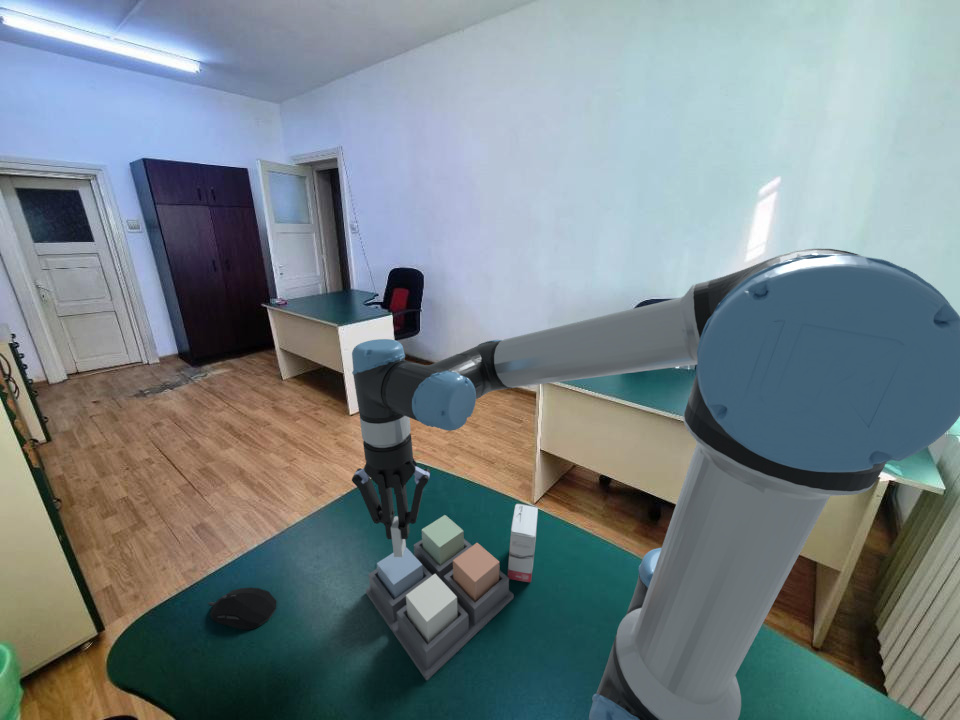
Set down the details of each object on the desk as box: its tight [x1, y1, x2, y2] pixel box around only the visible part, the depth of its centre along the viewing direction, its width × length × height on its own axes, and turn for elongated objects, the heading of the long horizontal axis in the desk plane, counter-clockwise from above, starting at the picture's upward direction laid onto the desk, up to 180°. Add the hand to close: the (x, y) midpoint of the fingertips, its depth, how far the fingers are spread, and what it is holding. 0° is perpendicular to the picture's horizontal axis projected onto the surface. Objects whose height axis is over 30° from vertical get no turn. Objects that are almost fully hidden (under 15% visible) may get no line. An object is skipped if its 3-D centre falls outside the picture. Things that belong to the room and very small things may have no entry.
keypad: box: [365, 538, 515, 682], centre depth 70 cm, size 20×20×5 cm
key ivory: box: [406, 574, 458, 644], centre depth 62 cm, size 6×6×5 cm
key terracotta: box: [453, 542, 500, 602], centre depth 68 cm, size 6×6×5 cm
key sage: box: [421, 514, 465, 566], centre depth 75 cm, size 6×6×5 cm
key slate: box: [376, 545, 423, 600], centre depth 69 cm, size 6×6×5 cm
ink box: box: [507, 503, 539, 583], centre depth 76 cm, size 9×5×12 cm, turn 169°
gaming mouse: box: [207, 587, 278, 631], centre depth 68 cm, size 6×15×4 cm, turn 80°
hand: (400, 550), depth 67 cm, fingers closed
